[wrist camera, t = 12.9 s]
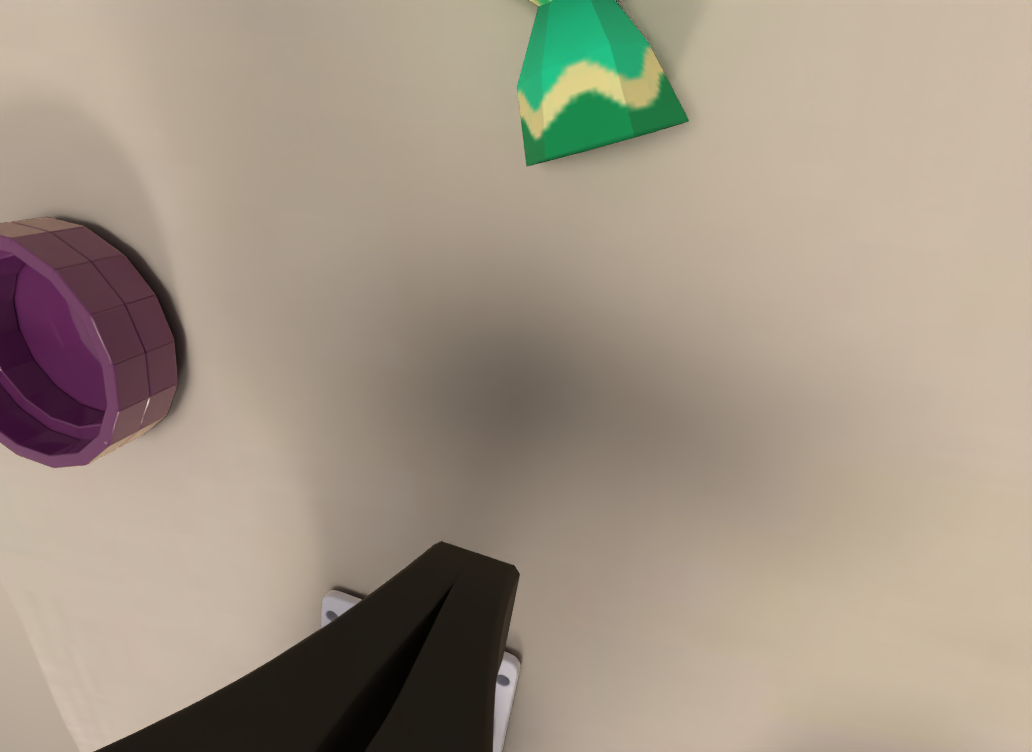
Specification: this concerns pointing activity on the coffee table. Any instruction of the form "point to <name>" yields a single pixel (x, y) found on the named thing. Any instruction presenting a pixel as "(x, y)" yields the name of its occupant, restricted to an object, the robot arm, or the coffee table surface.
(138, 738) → the robot arm
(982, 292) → the coffee table surface
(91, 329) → the dish plum
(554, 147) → the candy
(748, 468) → the coffee table surface
